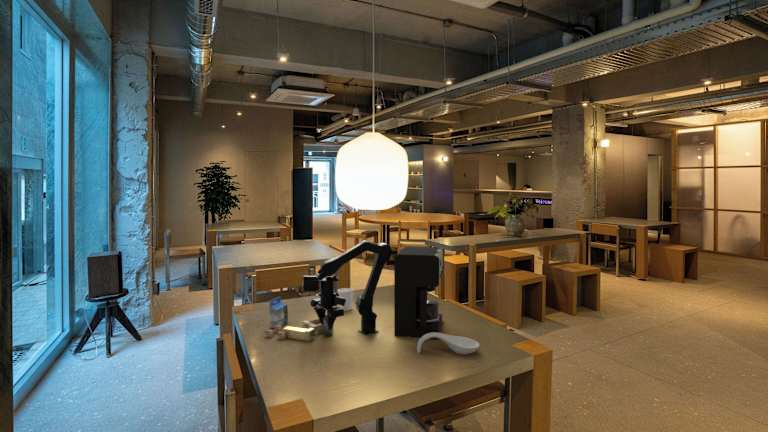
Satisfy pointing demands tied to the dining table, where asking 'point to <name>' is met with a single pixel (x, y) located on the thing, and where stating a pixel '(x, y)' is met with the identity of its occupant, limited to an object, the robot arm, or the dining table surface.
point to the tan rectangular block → (299, 333)
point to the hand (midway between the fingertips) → (326, 326)
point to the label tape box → (278, 313)
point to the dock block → (313, 325)
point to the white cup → (348, 295)
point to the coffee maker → (417, 291)
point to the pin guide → (276, 329)
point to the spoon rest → (452, 342)
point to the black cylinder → (326, 328)
